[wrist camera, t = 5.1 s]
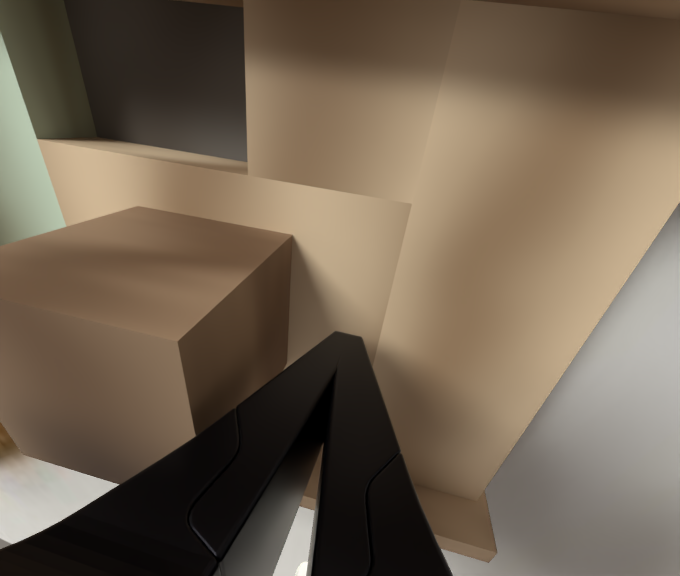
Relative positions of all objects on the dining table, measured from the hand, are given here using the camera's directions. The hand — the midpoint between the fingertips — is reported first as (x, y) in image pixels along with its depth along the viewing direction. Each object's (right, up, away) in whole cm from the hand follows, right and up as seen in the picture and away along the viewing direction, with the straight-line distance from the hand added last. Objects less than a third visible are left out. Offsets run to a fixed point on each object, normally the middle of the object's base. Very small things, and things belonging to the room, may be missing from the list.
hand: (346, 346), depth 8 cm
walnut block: (-4, +1, +1) cm, 4 cm away
